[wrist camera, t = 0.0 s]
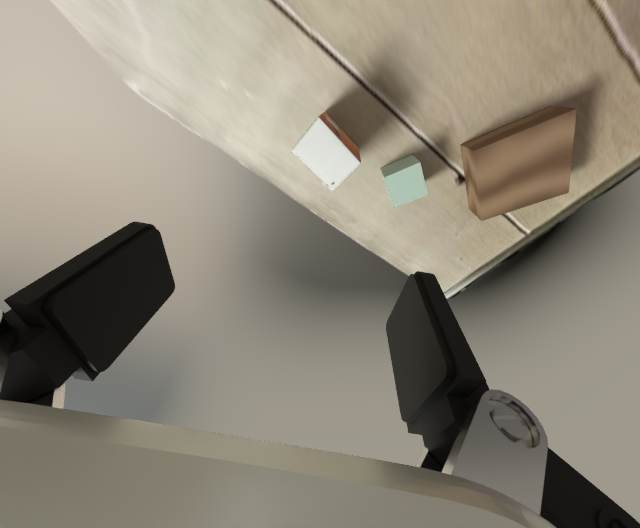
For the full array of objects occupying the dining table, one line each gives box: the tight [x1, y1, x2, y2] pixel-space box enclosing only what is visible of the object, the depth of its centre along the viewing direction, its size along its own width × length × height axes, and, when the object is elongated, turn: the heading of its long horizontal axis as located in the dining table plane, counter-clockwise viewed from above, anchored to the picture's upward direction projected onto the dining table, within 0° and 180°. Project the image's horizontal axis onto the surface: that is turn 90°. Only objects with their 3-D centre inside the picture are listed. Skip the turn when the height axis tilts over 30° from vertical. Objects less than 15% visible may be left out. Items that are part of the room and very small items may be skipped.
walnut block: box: [461, 107, 577, 221], centre depth 37 cm, size 12×12×5 cm
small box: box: [292, 112, 361, 191], centre depth 36 cm, size 8×6×10 cm
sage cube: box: [380, 155, 428, 208], centre depth 40 cm, size 6×6×6 cm
